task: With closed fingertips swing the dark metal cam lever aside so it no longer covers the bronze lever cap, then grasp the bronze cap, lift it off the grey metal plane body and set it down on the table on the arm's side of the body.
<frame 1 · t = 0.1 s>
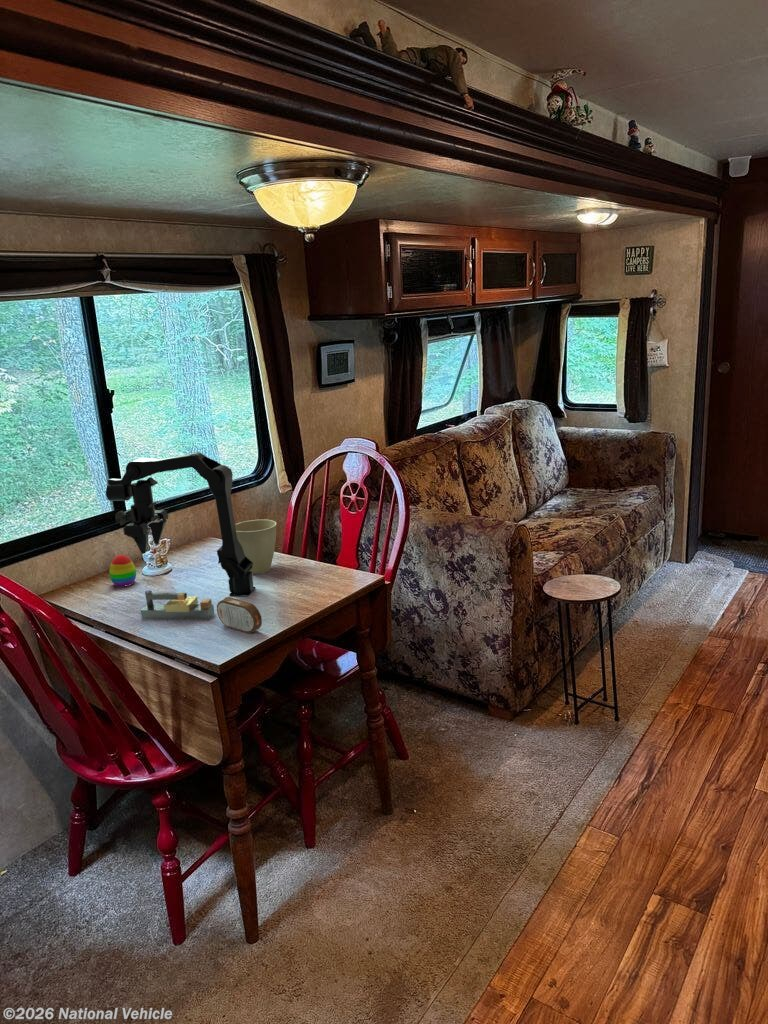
hand: (150, 548, 219), 15 cm above the table, fingers open, 9 cm apart
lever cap: (182, 607, 201), point 3 cm above the table, touching plane body
decorative egg: (124, 584, 232), on the table
plant pot: (258, 571, 238), on the table
tin: (240, 629, 192), on the table
plane body: (178, 616, 202), on the table
cam lever: (166, 599, 201), point 5 cm above the table, hinge at 0.0°
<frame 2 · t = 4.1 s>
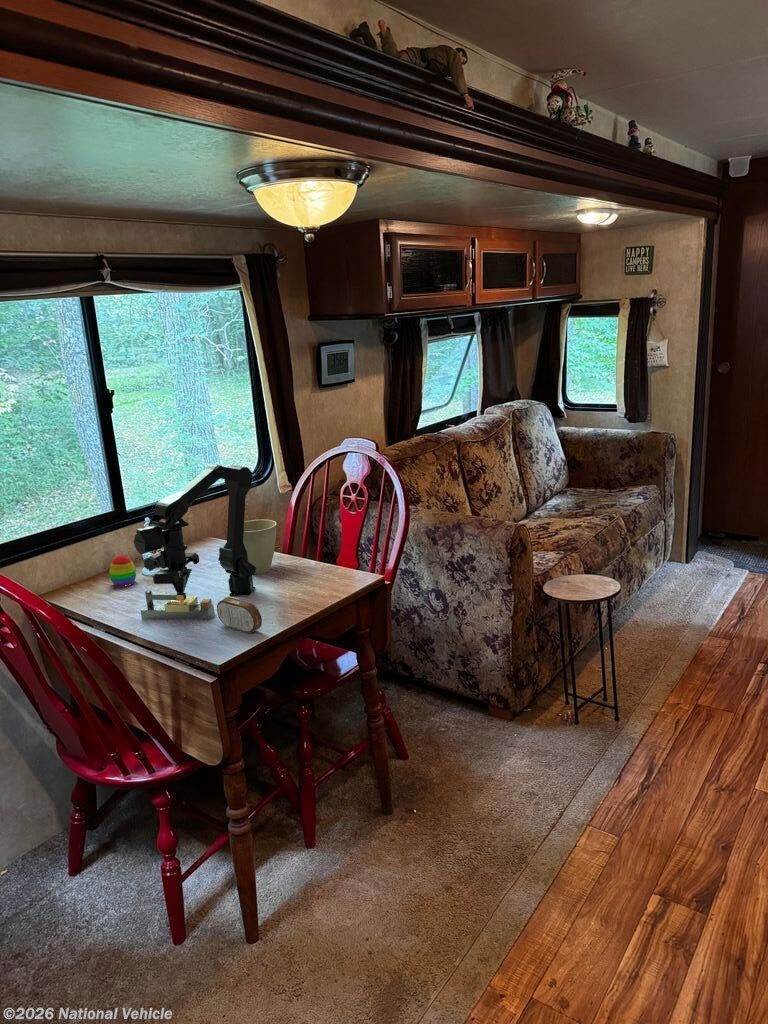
hand: (180, 596, 202), 6 cm above the table, fingers closed
cam lever: (165, 599, 201), point 5 cm above the table, hinge at 3.0°, touching gripper
everything else where it was.
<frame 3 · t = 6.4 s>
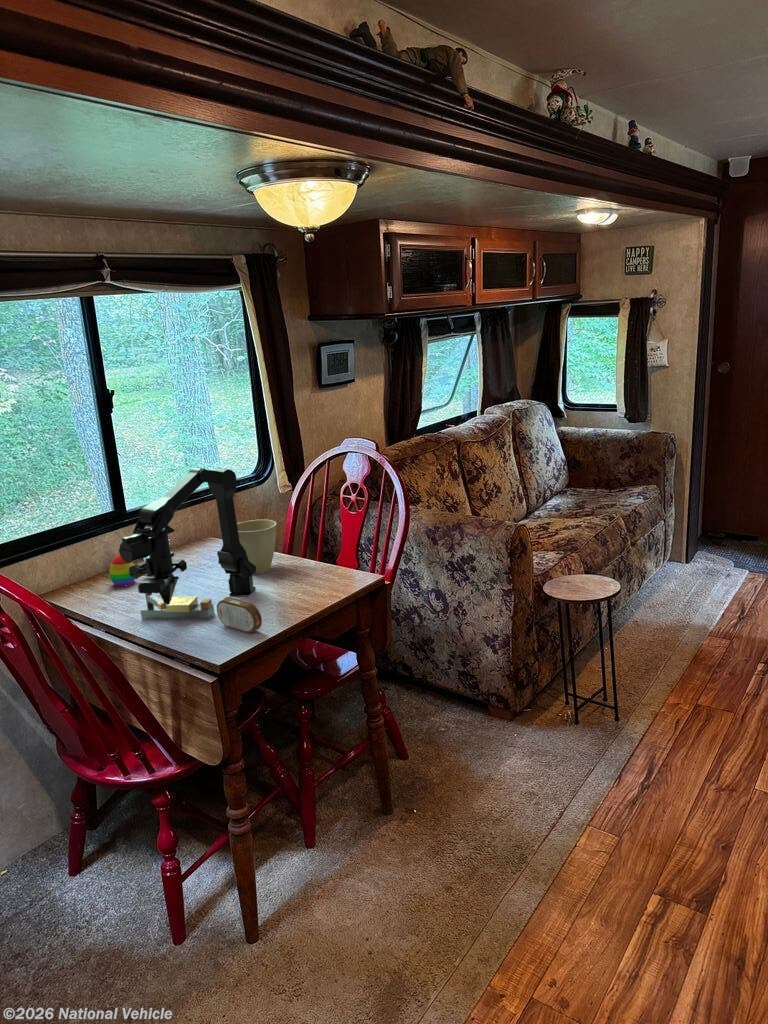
hand: (167, 604, 196), 6 cm above the table, fingers closed
cam lever: (155, 603, 198), point 6 cm above the table, hinge at 44.4°, touching gripper
everything else where it was.
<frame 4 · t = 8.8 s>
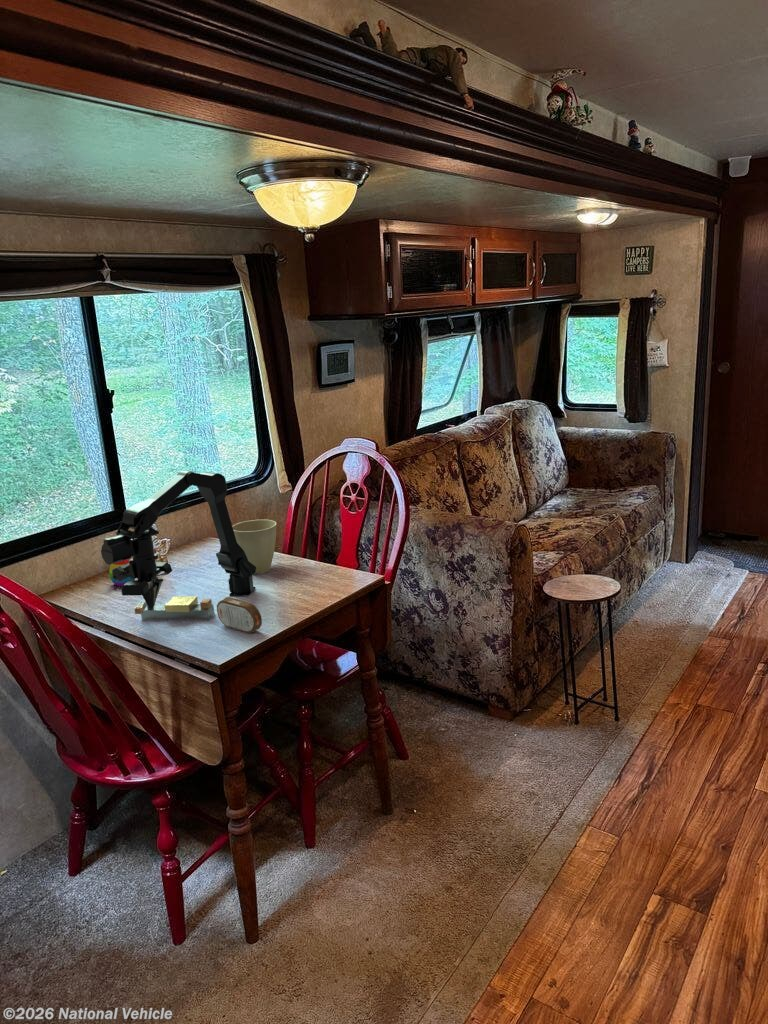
hand: (151, 607, 194), 6 cm above the table, fingers closed
cam lever: (144, 605, 197), point 6 cm above the table, hinge at 79.9°
everything else where it was.
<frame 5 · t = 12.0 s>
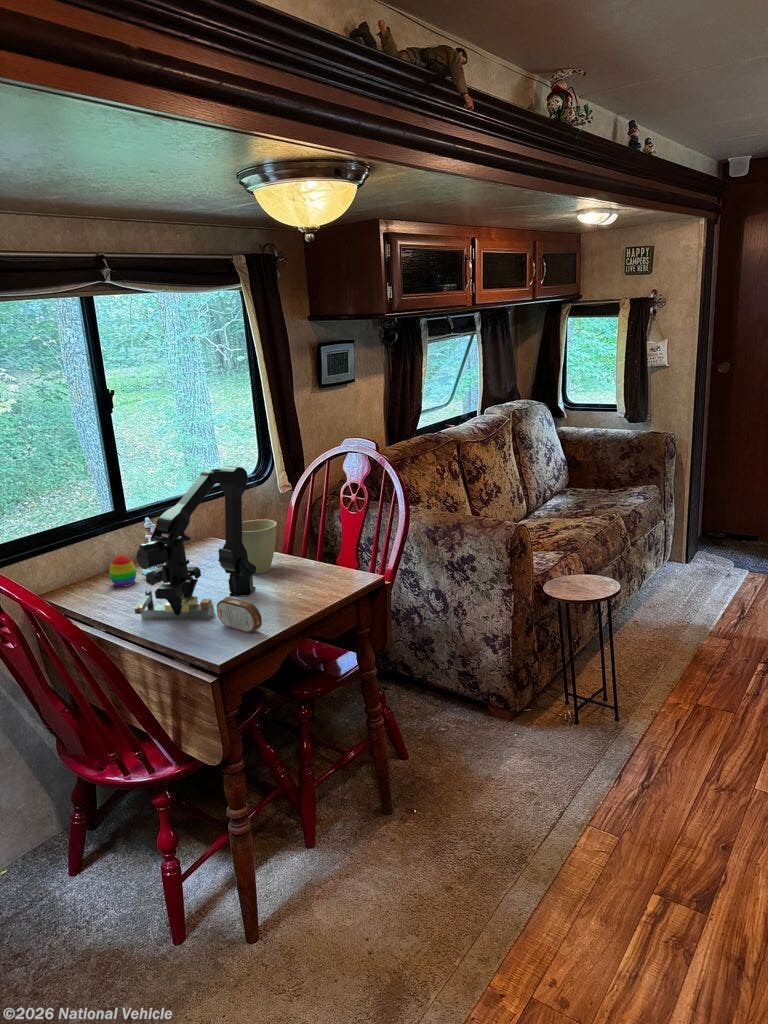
hand: (182, 610, 202), 2 cm above the table, fingers closed on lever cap, 6 cm apart
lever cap: (182, 607, 201), point 3 cm above the table, touching gripper, plane body
everything else where it was.
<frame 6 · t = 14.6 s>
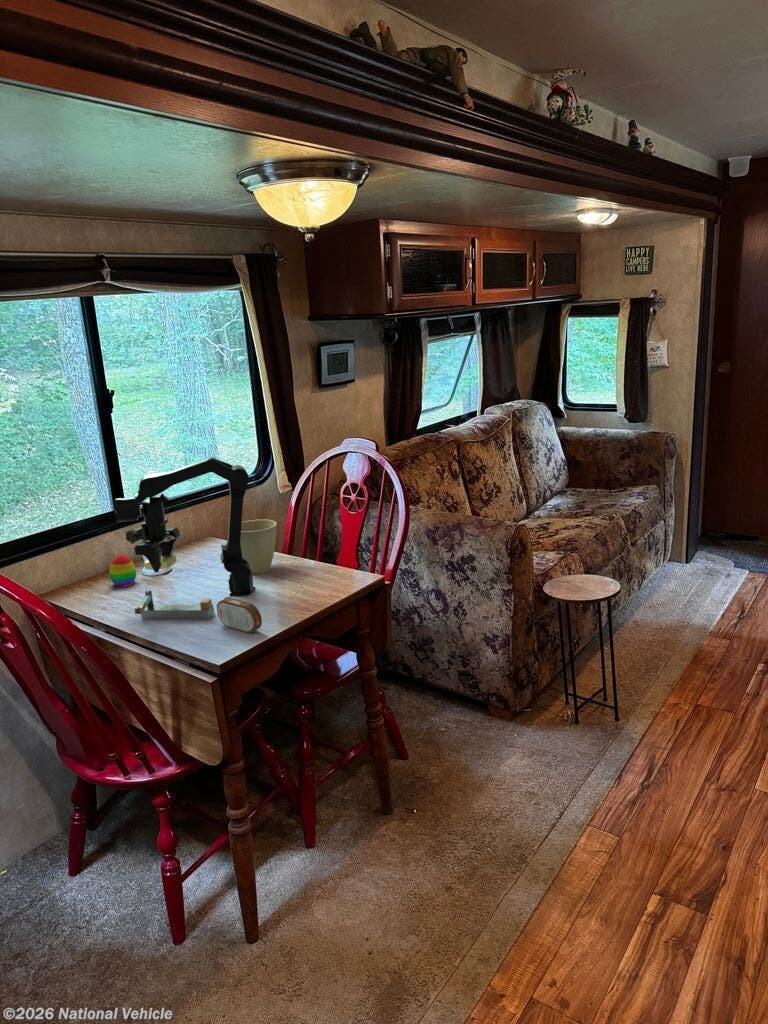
hand: (161, 568, 210), 11 cm above the table, fingers closed on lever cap, 6 cm apart
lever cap: (161, 565, 210), point 12 cm above the table, touching gripper
everything else where it was.
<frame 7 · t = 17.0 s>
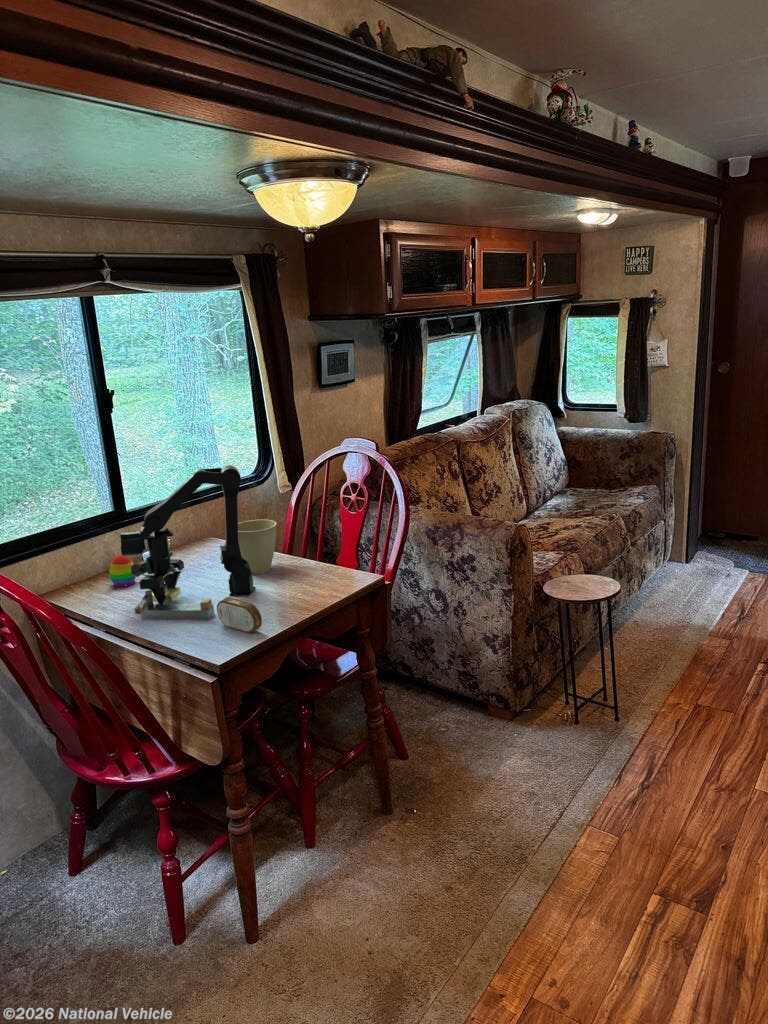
hand: (166, 600, 213), 1 cm above the table, fingers closed on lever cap, 6 cm apart
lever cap: (165, 597, 212), point 2 cm above the table, touching gripper
everything else where it was.
when the fingers open (1 cm above the table, at t = 17.3 s): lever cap drops 2 cm, on the table.
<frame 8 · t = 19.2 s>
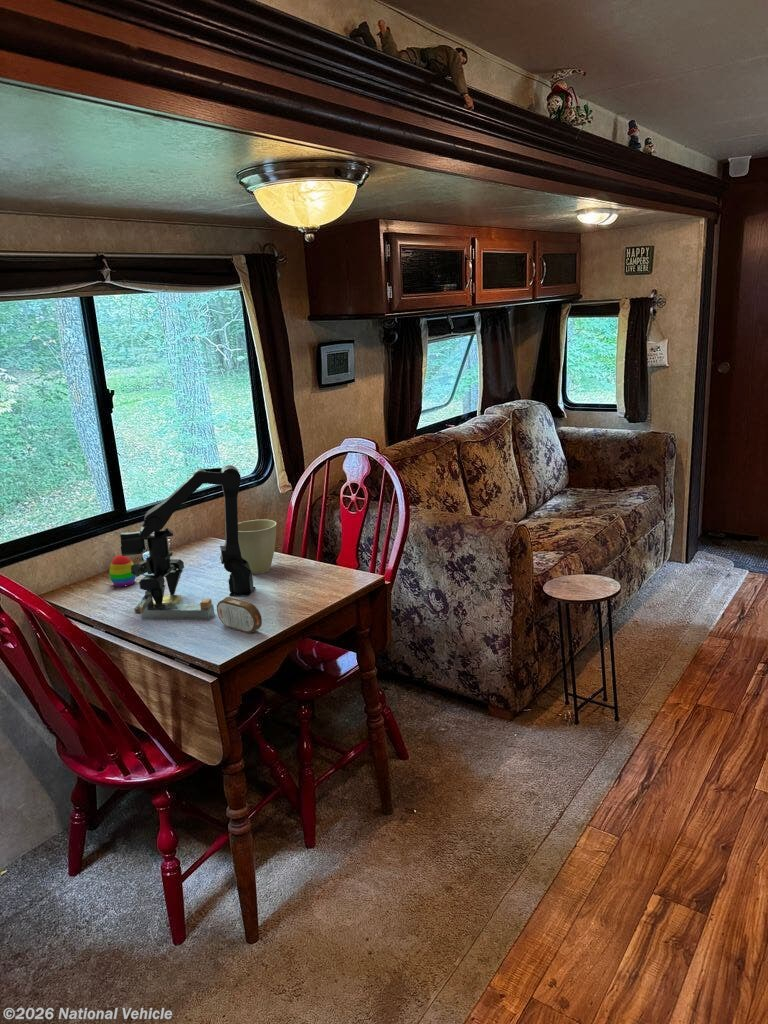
hand: (166, 600, 213), 1 cm above the table, fingers open, 9 cm apart
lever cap: (166, 605, 213), on the table
everything else where it was.
at the end: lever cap inside the target area (0.0 cm from its centre), on the table; cam lever at +80° (first picture: +0°); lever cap touching table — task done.
